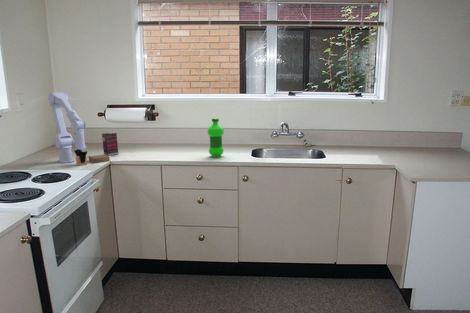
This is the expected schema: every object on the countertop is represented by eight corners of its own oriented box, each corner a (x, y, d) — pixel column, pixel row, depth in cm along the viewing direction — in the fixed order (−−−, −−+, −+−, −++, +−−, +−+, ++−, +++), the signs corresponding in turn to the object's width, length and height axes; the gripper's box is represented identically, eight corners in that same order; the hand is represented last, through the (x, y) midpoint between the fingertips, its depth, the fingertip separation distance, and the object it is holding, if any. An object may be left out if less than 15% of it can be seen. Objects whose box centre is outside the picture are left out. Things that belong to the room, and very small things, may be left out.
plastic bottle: (206, 157, 254) (204, 119, 249) (212, 154, 264) (211, 117, 259) (220, 158, 251) (219, 119, 246) (226, 155, 260) (225, 118, 256)
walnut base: (88, 160, 250) (88, 156, 249) (104, 158, 256) (104, 154, 255) (93, 163, 242) (93, 158, 241) (109, 161, 248) (109, 156, 247)
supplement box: (115, 154, 270) (113, 132, 267) (118, 155, 267) (116, 132, 264) (103, 156, 264) (101, 133, 261) (106, 157, 261) (104, 133, 258)
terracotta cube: (76, 164, 239) (75, 156, 238) (84, 163, 242) (84, 155, 241) (78, 165, 235) (78, 157, 234) (87, 164, 238) (86, 156, 237)
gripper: (89, 140, 232) (91, 162, 235) (82, 138, 244) (84, 159, 246) (77, 141, 228) (79, 164, 231) (71, 139, 240) (73, 160, 242)
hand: (81, 161), depth 238 cm, fingers closed on terracotta cube, 5 cm apart
